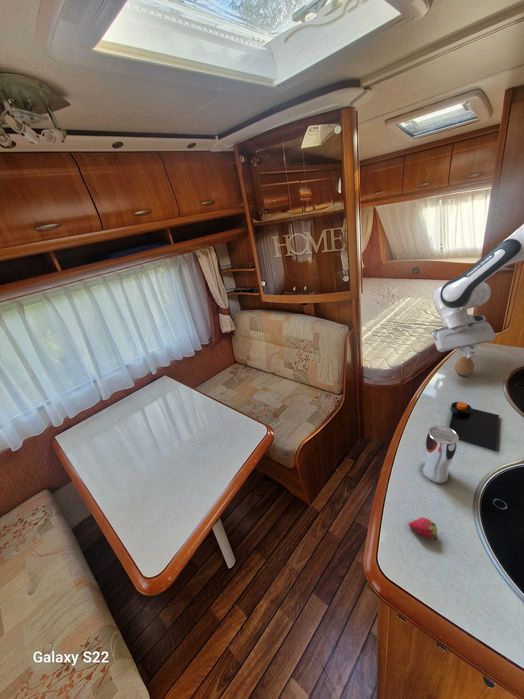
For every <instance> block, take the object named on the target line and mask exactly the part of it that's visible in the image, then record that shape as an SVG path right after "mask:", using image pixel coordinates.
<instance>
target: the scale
mask: <svg viewBox="0 0 524 699" xmlns="http://www.w3.org/2000/svg"><path fill="white" fill-rule="evenodd" d="M458 402H459V401H454V402H452V403H451V405H450V411H451V412H452V414H451V418H450V421H449V426H448V427H449V428H451V429H452V430H454V431H455V432H456V433H457V435H458V437H459V439H458V441H462V442H464V443H468V444H470V445H471V444H472V445H474V446H478V447H481V448H484V449H488V450H491V451H494V452H496V451H497V448H498V434H499V419H500V415H499V414H496V413H491V412H488V411H484V410H480V409H476V408H472V407H471V405H470V404H468V403H466V404H467V409H466V410H464V411H463V410H459V409H457V407H456V406H457V403H458Z"/></svg>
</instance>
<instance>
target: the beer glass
mask: <svg viewBox="0 0 524 699" xmlns="http://www.w3.org/2000/svg"><path fill="white" fill-rule="evenodd" d="M458 439H459V437H458V435H457V433H456V432H455V431H454V430H452V429H451V428H449V426H446V425H441V424H436V425H432V426H430V427H429V428H428V429H427V433H426V437H425V442H424V454H425V462H424V464H423V466H422V473H423V475H424V476H425V478H426V479H428V480H429V481H431V482H434V483H436V484H442V483H445V482H447V481H448V479H449V468H450V466H451V464H452V463H453V461H454V459H455V458H456V455H457V452H458V446H459V440H458Z"/></svg>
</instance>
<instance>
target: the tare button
mask: <svg viewBox="0 0 524 699" xmlns="http://www.w3.org/2000/svg"><path fill="white" fill-rule="evenodd" d="M457 402H458V403H457V406H456V407H457V409H459V410H463V411H464V410H466V409H467V404H468V403H466V402H463V401H457Z"/></svg>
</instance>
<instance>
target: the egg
mask: <svg viewBox="0 0 524 699" xmlns="http://www.w3.org/2000/svg"><path fill="white" fill-rule="evenodd" d="M454 370H455V372H456V373H457V374H458V375H460V376H464V377H465V376H469V375H471V374H472V373H473V372H474V371H475V363H474V361H473V358H467V357H466V356H461V357H459V358H458V359H457V360H456V361H455V362H454Z"/></svg>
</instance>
